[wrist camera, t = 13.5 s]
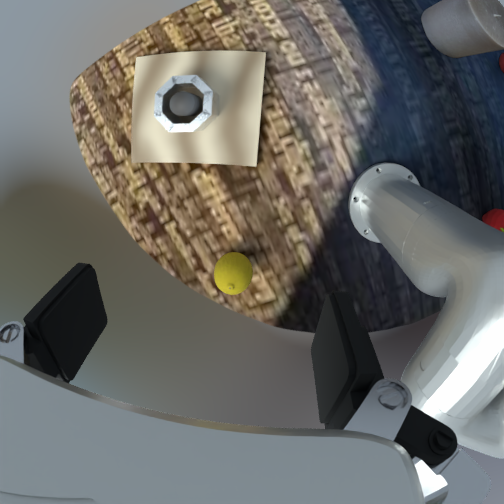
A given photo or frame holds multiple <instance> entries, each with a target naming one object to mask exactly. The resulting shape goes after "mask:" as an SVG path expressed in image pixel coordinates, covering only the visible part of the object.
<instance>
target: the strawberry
mask: <svg viewBox="0 0 504 504" xmlns="http://www.w3.org/2000/svg"><path fill="white" fill-rule="evenodd" d="M482 220H483V223H485V224H487V225H489V226H491V227H493V228H495V229H497V230H499V231H501V232H504V210H502V209H493V210H490V211H488V212H487V213H486V214H484V215H483V217H482Z"/></svg>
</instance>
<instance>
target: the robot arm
mask: <svg viewBox="0 0 504 504" xmlns="http://www.w3.org/2000/svg"><path fill="white" fill-rule="evenodd" d="M377 168H378V171H376V169H377ZM408 176H409V177H408ZM354 197H356V198H355V199H353V198H354ZM349 214H350V217H351V220H352V222H353V224H354V226H355V228H356V229H357V230H358V232H359V233H360V234H361V235H362V236H364V237H365V238H367V239H368V240H370V241H373V242H377V243H382V244H383V246H384V247H385V248H386V249H387V251H388V252H389V253H390V254H391V256H392V257H393V258H394V259H395V261H396V262H397V263H398V264H399V266H400V267H401V268H402V270H403V271H404V272H405V274H406V275H407V276H408V277H409V278H410V280H411V281H412V282H413V284H414V285H415V286H416V287H417V288H418V289H420V290H421V291H422V292H424V293H426V294H428V295H431V296H437V297H447V299H446V302H445V304H444V306H443V308H442V310H441V312H440V313H439V315H438V317H437V320H436V322H435V323H434V325H433V326H432V328H431V329H430V331H429V333H428V334H427V336H426V337H425V339H424V340H423V342H422V343H421V345H420V346H419V348H418V349H417V351H416V353H415V354H414V356H413V357H412V358H411V360H410V362H409V363H408V365H407V367H406V368H405V370H404V373H403V375H402V378H401V381H399V380H396V379H391V378H386V379H384V376H383V373H382V370H381V367H380V364H379V362H378V359H377V356H376V353H375V350H374V348H373V345H372V342H371V340H370V337H369V334H368V332H367V329H366V328H365V327H364V326H361V325H360V322H359V320H358V317H357V314H356V312H355V309H354V307H353V304H352V301H351V299H350V296H349V294H348V292H344V291H332V293H331V294H327V295H326V298H325V302H324V305H323V309H322V312H321V316H320V319H319V323H318V326H317V329H316V333H315V336H314V339H313V343H312V347H311V355H312V362H313V370H314V377H315V385H316V393H317V401H318V409H319V418H320V422H321V423H325V429H306V428H274V427H259V426H248V425H237V424H228V423H220V422H213V421H206V420H200V419H193V418H187V417H183V416H178V415H173V414H168V413H163V412H159V411H155V410H150V409H146V408H142V407H139V406H135V405H131V404H127V403H124V402H120V401H117V400H114V399H111V398H108V397H105V396H102V395H98V394H96V393H93V392H90V391H87V390H84V389H81V388H79V387H76V386H74V385H71V384H69V382H70V381H71V380H73V379H74V377H75V375H76V374H77V372H78V370H79V369H80V367H81V365H82V364H83V362H84V360H85V359H86V357H87V355H88V354H89V352H90V350H91V349H92V347H93V346H94V344H95V342H96V341H97V339H98V338H99V336H100V335H101V333H102V331H103V330H104V328H105V327H106V325H107V316H106V312H105V309H104V305H103V301H102V297H101V293H100V289H99V285H98V281H97V276H96V272H95V269H94V268H93V267H92V266H91V265H90V264H85V263H78V264H76V266H74V267H73V268H72V269H71V270H70V271H69V272H68V273H67V274H66V275H65V276H64V277H63V278H62V279H61V280H60V281H59V282H58V283H57V284H56V285H55V286H54V287H53V288H52V289H51V290H50V291H49V292H48V293H47V294H46V295H45V296H44V297H43V298H42V299H41V300H40V301H39V302H38V303H37V304H36V305H35V306H34V307H33V309H32V310H31V311H30V312H29V313H28V314H27V315H26V316H25V317H24V322H25V324H26V326H25V327H23V325H22V324H21V323H20V322H17V321H13V322H9V323H6V324H5V325H3V326H2V327H1V328H0V504H481V503H482V502H483V501H484V499H485V498H486V496H487V495H488V493H489V490H490V487H491V481H490V478H489V476H488V475H487V473H485V471H484V470H483V469H482V468H481V467H480V466H479V465H478V464H477V463H476V462H475V461H474V460H473V459H472V458H471V456H469V454H468V453H467V452H466V451H465V450H464V449H463V448H462V449H460V450H459V449H458V448H457V443H458V444H460V445H463V446H465V447H468V448H470V449H473V450H476V451H478V452H481V453H484V454H486V455H489V456H493V457H496V458H504V232H501V231H499V230H497V229H495V228H493V227H491V226H489V225H487V224H485V223H483V222H482V221H480V220H478V219H476V218H475V217H473V216H471V215H470V214H468V213H466V212H465V211H463V210H461V209H460V208H458V207H456V206H455V205H453V204H451V203H450V202H448V201H446V200H444V199H443V198H441V197H439V196H437V195H436V194H434V193H432V192H430V191H428V190H427V189H425V188H423V187H421V186H420V184H419V182H418V180H417V178H416V177H415V176H414V174H413V173H412V172H411V171H410V170H408V169H407V168H405V167H403V166H401V165H399V164H395V163H391V162H383V163H379V164H375V165H373V166H371V167H369V168H368V169H366V170H365V171H364V172H363V173H362V174H361V175H360V176H359V177H358V178H357V180H356V181H355V183H354V184H353V187H352V189H351V192H350V196H349ZM364 230H366V231H364Z"/></svg>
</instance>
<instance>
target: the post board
mask: <svg viewBox="0 0 504 504" xmlns="http://www.w3.org/2000/svg"><path fill="white" fill-rule="evenodd" d="M265 60H266V52H253V51H192V52H177V53H166V54H157V55H150V56H142V57H136V65H135V76H134V88H133V105H132V162H180V163H210V164H229V165H243V166H257V155H258V143H259V131H260V119H261V107H262V95H263V84H264V72H265ZM182 75H197V76H199V77H201V78H202V79H204V80H205V81H206V82H207V83H208V84H209V85H210V86H211V87H212V88H213V89H214V90H215V91H216V92H217V93H218V94H219V95H220V101H219V116H218V117H217V118H216V119H215V120H213V121H212V122H211V123H210V124H209V125H208V126H207V127H206V128H205V129H203V130H202V131H196V132H169V131H168V130H167V129H166V128H165V127H164V126H163V125H162V124H161V123H160V122H159V121H158V120H157V119H156V118H155V117H154V105H155V93H156V92H157V91H158V90H159V89H160V88H161V87H162V86H163V85H164V84H165V83H166V82H167V81H168V80H169V79H170V78H171V77H172V76H182ZM203 100H204V94H203V93H202V92H201V91H200V90H199V89H198V88H186V89H185V90H184V91H181V92H178V93H176V94H174V95H173V97H172V98H171V100H170V109H171V111H172V112H173V113H174V114H176V115H177V116H178V117H179V118H180V119H181V120H182V121H183V122H184V123H191V122H192V121H193V120H194V119H195V118H196V117H197V116H198V115H199V114H201V113H202V112H203Z"/></svg>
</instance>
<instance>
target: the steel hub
mask: <svg viewBox="0 0 504 504" xmlns="http://www.w3.org/2000/svg"><path fill="white" fill-rule="evenodd" d="M186 88H198V89H199V90H200V91H201V92H202V93H203V94H204V100H203V112H202V113H201V114H199V115H198V116H197V117H196V118H195V119H194V120H193V121H192V122H191V123H184V122H183V121H182V120H181V119H180V118H179V117H178V116H177V115H176V114H174V113H173V112H172V111H171V109H170V100H171V98H172V97H173V95H174V94H176V93H178V92H181V91H184V90H185V89H186ZM219 101H220V95H219V94H218V93H217V92H216V91H215V90H214V89H213V88H212V87H211V86H210V85H209V84H208V83H207V82H206V81H205V80H204V79H202V78H201V77H199V76H197V75H182V76H172V77H171V78H170V79H169V80H168V81H167V82H166V83H165V84H164V85H163V86H162V87H161V88H160V89H159V90H158V91H157V92H156V93H155V105H154V117H155V118H156V119H157V120H158V121H159V122H160V123H161V124H162V125H163V126H164V127H165V128H166V129H167V130H168V131H169V132H196V131H202V130H203V129H205V128H206V127H207V126H208V125H209V124H210V123H211V122H212V121H213V120H215V119H216V118H217V117H218V116H219Z"/></svg>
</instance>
